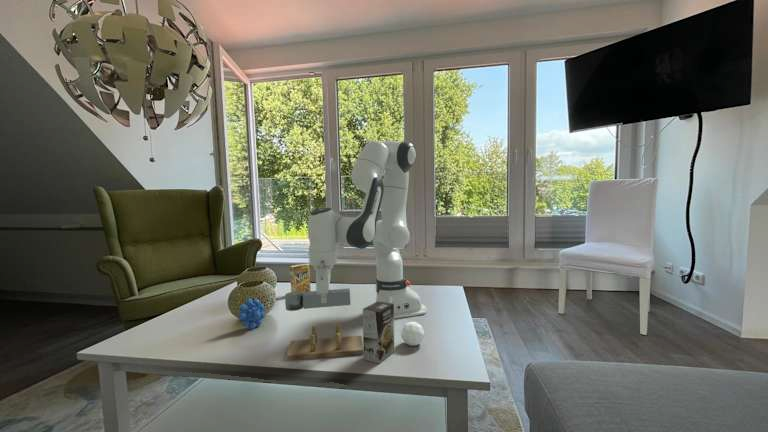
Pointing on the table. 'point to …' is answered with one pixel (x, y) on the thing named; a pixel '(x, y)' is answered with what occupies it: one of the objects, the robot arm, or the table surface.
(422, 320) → the table surface
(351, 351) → the peg board
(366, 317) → the coffee box
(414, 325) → the geometric ball
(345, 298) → the grey bar
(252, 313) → the grapes
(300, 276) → the candy box
